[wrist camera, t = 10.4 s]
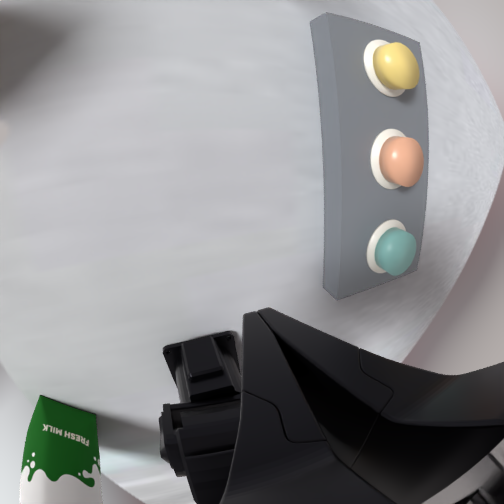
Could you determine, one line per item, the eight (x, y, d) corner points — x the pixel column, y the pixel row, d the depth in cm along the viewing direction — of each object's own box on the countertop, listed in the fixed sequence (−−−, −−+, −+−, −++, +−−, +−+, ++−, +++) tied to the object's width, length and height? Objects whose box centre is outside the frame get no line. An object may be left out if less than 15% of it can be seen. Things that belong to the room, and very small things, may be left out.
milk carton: (104, 412, 24) (122, 579, 7) (93, 444, 26) (108, 576, 8) (32, 386, 20) (15, 553, 3) (33, 424, 22) (27, 557, 4)
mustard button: (407, 92, 18) (421, 92, 17) (375, 86, 17) (389, 84, 16) (402, 51, 16) (416, 49, 15) (369, 40, 15) (383, 37, 14)
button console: (401, 261, 29) (418, 270, 27) (322, 287, 26) (338, 301, 24) (401, 45, 19) (421, 42, 17) (309, 21, 16) (327, 11, 14)
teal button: (401, 262, 25) (412, 269, 23) (372, 273, 24) (383, 280, 22) (406, 224, 23) (418, 229, 22) (376, 231, 22) (389, 237, 21)
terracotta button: (409, 181, 21) (422, 185, 20) (378, 184, 20) (392, 188, 19) (410, 137, 20) (423, 138, 18) (378, 135, 19) (392, 136, 17)
